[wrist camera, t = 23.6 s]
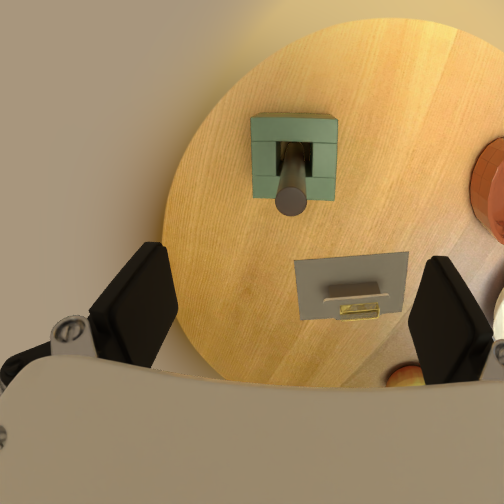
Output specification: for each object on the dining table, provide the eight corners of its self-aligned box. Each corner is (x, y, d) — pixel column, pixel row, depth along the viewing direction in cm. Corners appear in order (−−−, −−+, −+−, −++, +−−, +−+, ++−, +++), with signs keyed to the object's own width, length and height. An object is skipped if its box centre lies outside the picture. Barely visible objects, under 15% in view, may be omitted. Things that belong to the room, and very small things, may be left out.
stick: (286, 141, 38) (274, 186, 21) (303, 141, 37) (307, 187, 20) (286, 157, 39) (274, 215, 22) (303, 157, 39) (306, 217, 21)
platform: (401, 311, 48) (410, 337, 43) (300, 320, 52) (299, 347, 46) (408, 251, 43) (421, 275, 37) (293, 260, 46) (292, 286, 41)
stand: (259, 112, 36) (250, 117, 30) (330, 114, 35) (338, 119, 28) (261, 178, 41) (252, 198, 34) (328, 180, 40) (334, 201, 33)
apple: (421, 352, 52) (430, 382, 45) (429, 375, 56) (437, 403, 49) (378, 370, 56) (383, 401, 49) (390, 391, 59) (395, 420, 53)
